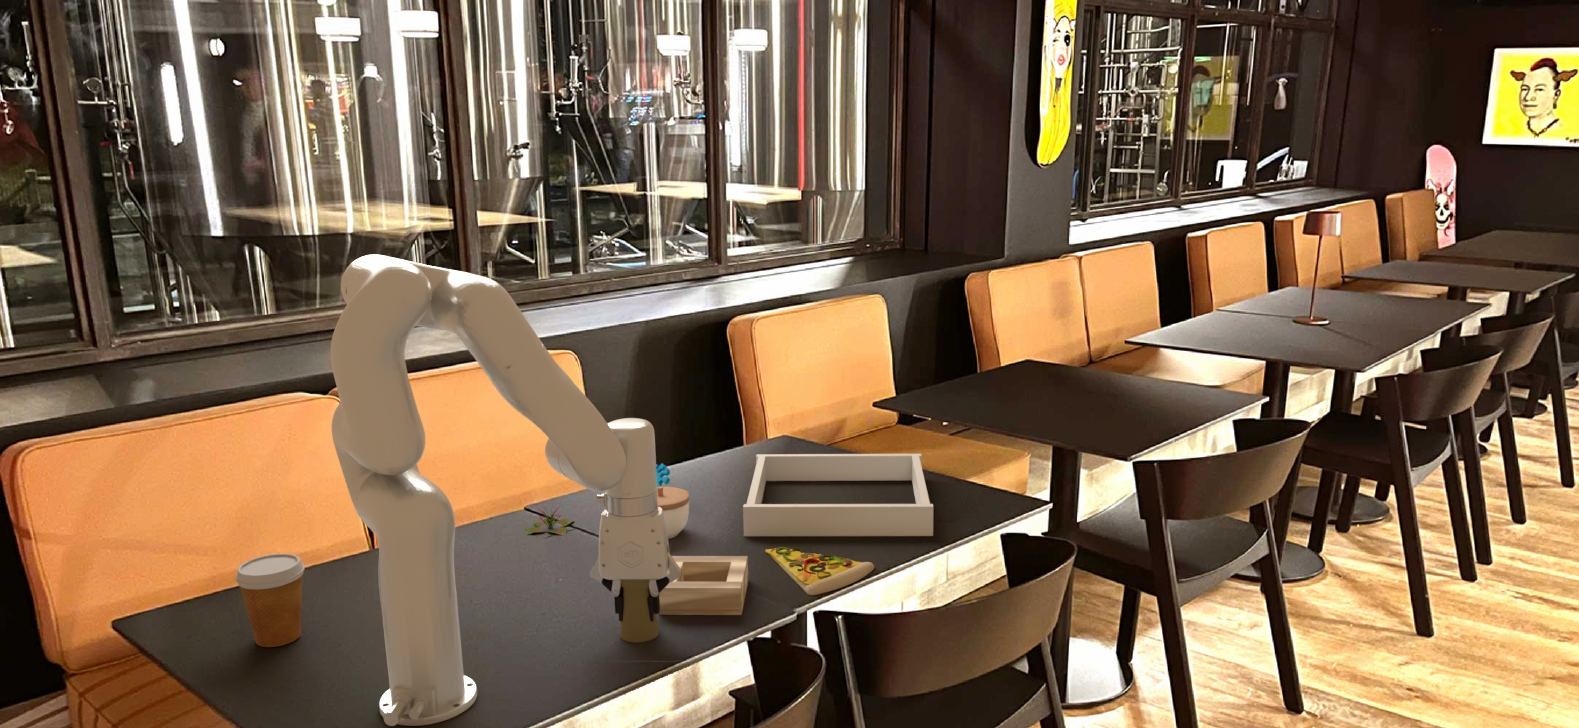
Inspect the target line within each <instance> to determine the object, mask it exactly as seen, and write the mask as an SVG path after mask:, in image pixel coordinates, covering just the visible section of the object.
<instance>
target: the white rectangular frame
mask: <svg viewBox="0 0 1579 728" xmlns="http://www.w3.org/2000/svg"><path fill="white" fill-rule="evenodd" d="M755 455H756V456H755V468H754V473H753V477H752V481H751V484H750V488H749V492H748V495H747V501H746V503H744V504H743V506H742V517H743V519H742V520H743V537H933V536H934V504H933V503H931V501H930V497H929V493H928V489H927V484H926V480H925V476H924V471H923V467H922V454H921V453H815V454H814V453H798V454H797V453H793V454H792V453H787V454H785V453H783V454H782V453H781V454H777V453H775V454H769V453H767V454H766V453H765V454H761V453H760V454H759V453H758V454H755ZM785 481H787V482H789V481H791V482H794V481H795V482H800V481H801V482H808V481H810V482H816V481H817V482H818V481H819V482H820V481H821V482H822V481H823V482H826V481H827V482H829V481H834V482H835V481H837V482H838V481H843V482H844V481H845V482H846V481H847V482H849V481H854V482H855V481H862V482H863V481H864V482H865V481H911V483H912V487H913V494H914V499H915V503H774V504H773V503H762V502H763V498H764V492H765V487H766V483H767V482H785Z"/></svg>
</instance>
